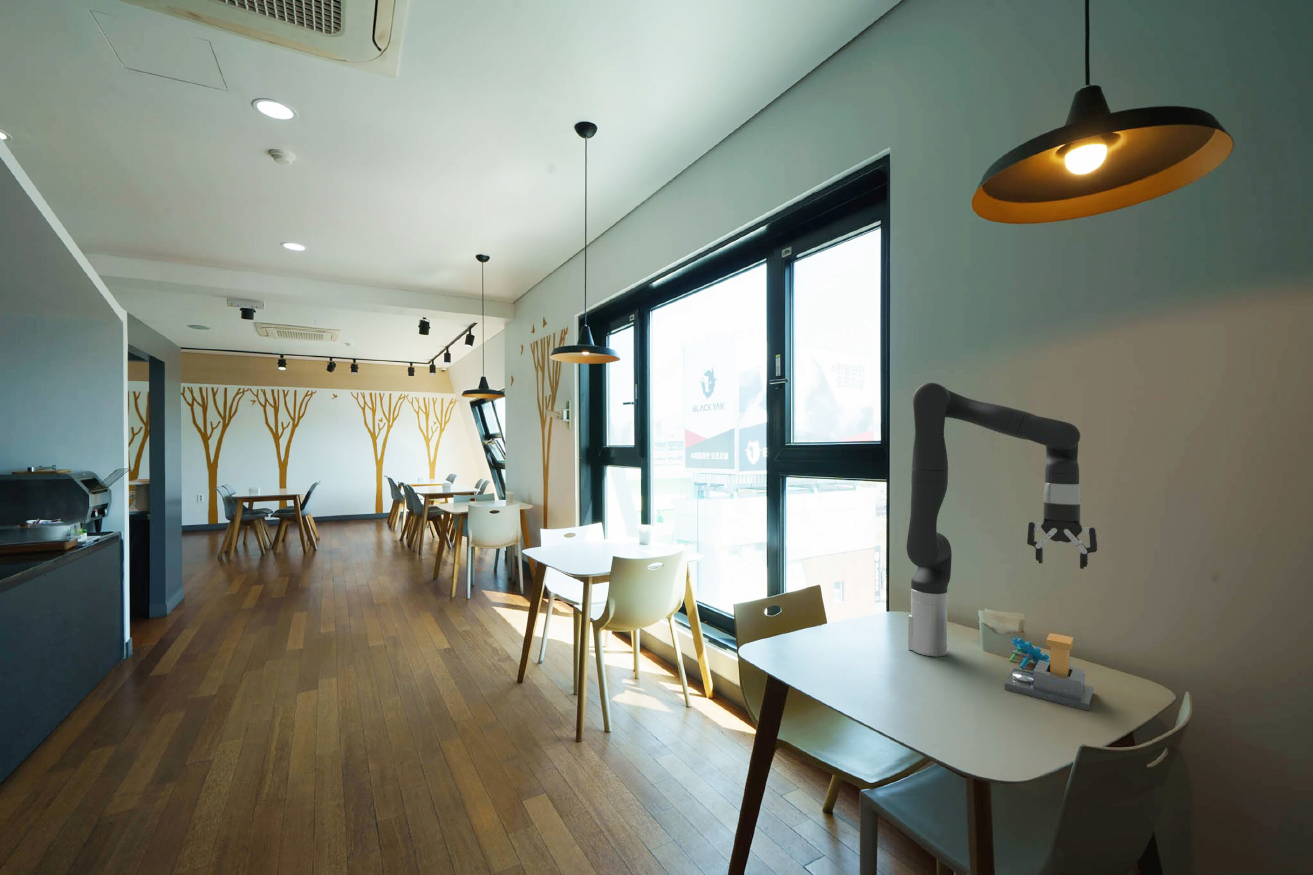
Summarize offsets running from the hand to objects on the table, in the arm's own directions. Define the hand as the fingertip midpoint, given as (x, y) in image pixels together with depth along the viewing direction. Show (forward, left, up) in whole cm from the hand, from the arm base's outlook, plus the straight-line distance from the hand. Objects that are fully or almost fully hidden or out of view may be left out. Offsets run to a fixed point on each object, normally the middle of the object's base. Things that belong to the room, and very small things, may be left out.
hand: (1061, 565), depth 143 cm
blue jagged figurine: (-7, +3, -28) cm, 29 cm away
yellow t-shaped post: (+1, -11, -27) cm, 29 cm away
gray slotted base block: (-1, -12, -28) cm, 31 cm away
